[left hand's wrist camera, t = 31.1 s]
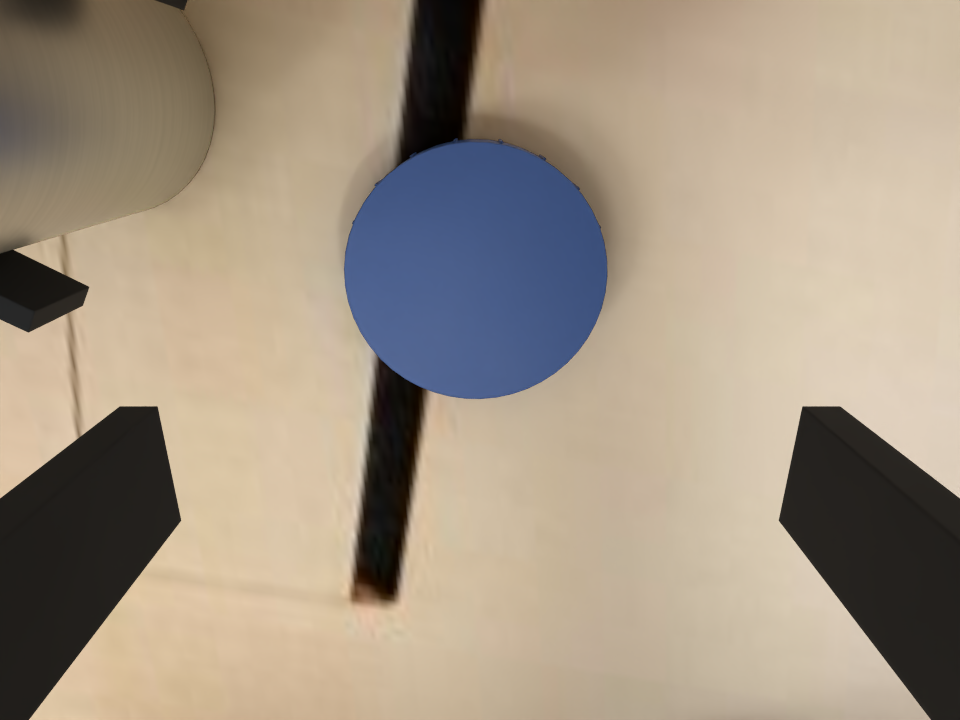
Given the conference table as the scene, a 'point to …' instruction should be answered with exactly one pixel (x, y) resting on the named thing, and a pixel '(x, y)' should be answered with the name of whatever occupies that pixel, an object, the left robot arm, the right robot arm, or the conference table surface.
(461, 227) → the lid
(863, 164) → the conference table surface
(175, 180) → the jar
